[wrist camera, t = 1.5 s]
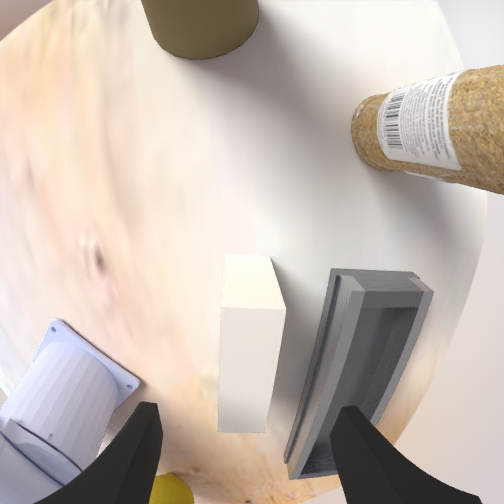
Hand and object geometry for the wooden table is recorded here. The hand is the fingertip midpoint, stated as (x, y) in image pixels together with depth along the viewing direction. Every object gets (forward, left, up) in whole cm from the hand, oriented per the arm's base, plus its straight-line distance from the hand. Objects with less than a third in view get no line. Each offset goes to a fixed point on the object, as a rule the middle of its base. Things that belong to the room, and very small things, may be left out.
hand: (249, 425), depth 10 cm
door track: (0, -10, -8) cm, 13 cm away
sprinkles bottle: (+14, +2, -9) cm, 16 cm away
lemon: (-21, -8, -9) cm, 24 cm away
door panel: (0, 0, -8) cm, 9 cm away
